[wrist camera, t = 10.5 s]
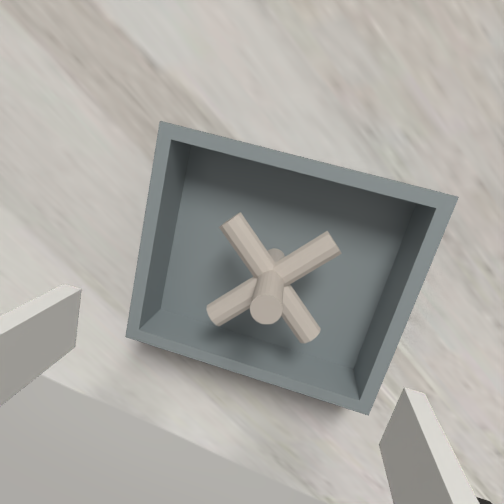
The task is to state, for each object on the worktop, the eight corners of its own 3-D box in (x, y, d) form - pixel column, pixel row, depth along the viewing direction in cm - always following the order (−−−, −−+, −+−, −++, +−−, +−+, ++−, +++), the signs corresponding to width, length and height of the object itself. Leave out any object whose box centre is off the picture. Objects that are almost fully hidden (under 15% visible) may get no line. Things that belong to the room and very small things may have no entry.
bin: (152, 311, 33) (125, 336, 28) (185, 128, 28) (159, 120, 24) (360, 377, 31) (368, 415, 26) (432, 190, 26) (458, 196, 22)
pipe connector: (358, 276, 29) (393, 337, 19) (258, 333, 31) (244, 413, 21) (292, 173, 27) (293, 182, 17) (192, 241, 29) (144, 283, 20)
